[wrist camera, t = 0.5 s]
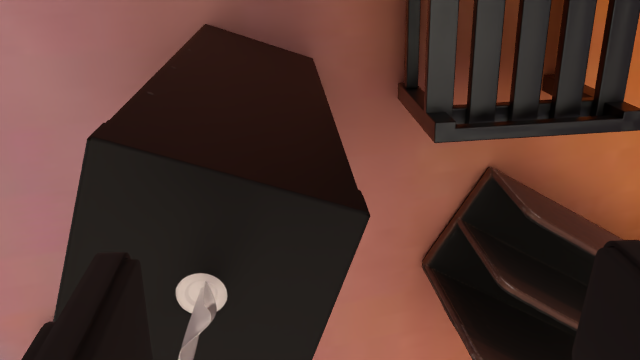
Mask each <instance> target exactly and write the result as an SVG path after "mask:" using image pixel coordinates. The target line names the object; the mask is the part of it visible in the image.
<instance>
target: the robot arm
mask: <svg viewBox="0 0 640 360" xmlns="http://www.w3.org/2000/svg"><path fill="white" fill-rule="evenodd" d="M572 359H573V360H640V241H639V240H617V241H608V242H607V243H606V244H605V245H604V247H603V248H600V249H599V250H598V251H597V253H596V255H595V259H594V264H593V268H592V272H591V276H590V280H589V284H588V288H587V292H586V296H585V300H584V304H583V308H582V312H581V316H580V320H579V324H578V329H577V333H576V337H575V341H574V345H573V349H572ZM22 360H153V356H152V348H151V341H150V333H149V325H148V318H147V310H146V302H145V295H144V287H143V280H142V272H141V265H140V262H139V260H138V259H131V258H130V255H129V253H127V252H112V253H97V254H96V255H95V256H94V258H93V260H92V261H91V263H90V265H89V266H88V268H87V270H86V271H85V273H84V275H83V276H82V278H81V280H80V282H79V283H78V285H77V287H76V288H75V290H74V292H73V293H72V295H71V297H70V298H69V300H68V302H67V304H66V305H65V307H64V309H63V310H62V312H61V314H60V315H59V317H58V319H57V321H56V322H48V323H46V324H44V326H43V327H42V328H41V329H40V331H39V332H38V334H37V335H36V337H35V339H34V340H33V342H32V344H31V345H30V347H29V348H28V350H27V352H26V353H25V355H24V356H23V358H22Z"/></svg>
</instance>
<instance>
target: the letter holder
mask: <svg viewBox="0 0 640 360" xmlns="http://www.w3.org/2000/svg"><path fill="white" fill-rule="evenodd" d="M617 240H622V239H620V238H619V237H617V236H615V235H613V234H611V233H610V232H608V231H606V230H604V229H602V228H600V227H599V226H597V225H595V224H593V223H592V222H590V221H588V220H586V219H584V218H583V217H581V216H579V215H577V214H576V213H574V212H572V211H570V210H568V209H566V208H564V207H563V206H561V205H559V204H557V203H556V202H554V201H552V200H550V199H548V198H546V197H545V196H543V195H541V194H539V193H537V192H536V191H534V190H532V189H530V188H528V187H526V186H525V185H523V184H521V183H519V182H517V181H515V180H514V179H512V178H510V177H508V176H507V175H505V174H503V173H501V172H500V171H498V170H497V169H494V168H490V167H489V168H488V169H487V171H486V173H485V174H484V175H483V177H482V178H481V180H480V181H479V182H478V184H477V185H476V186H475V188H474V189H473V191H472V192H471V193H470V195H469V196H468V198H467V199H466V200H465V202H464V203H463V205H462V206H461V207H460V209H459V210H458V212H457V213H456V214H455V216H454V217H453V219H452V220H451V221H450V223H449V224H448V226H447V227H446V228H445V230H444V231H443V233H442V234H441V235H440V237H439V238H438V239H437V241H436V242H435V244H434V245H433V247H432V248H431V249H430V251H429V252H428V254H427V255H426V257H425V258H424V260H423V263H422V267H423V270H424V272H425V274H426V275H427V277H428V279H429V281H430V282H431V284H432V286H433V288H434V290H435V292H436V294H437V295H438V298H439V299H440V301H441V303H442V305H443V307H444V310H445V311H446V313H447V315H448V317H449V319H450V321H451V322H452V324H453V326H454V327H455V329H456V330H457V332H458V334H459V336H460V338H461V339H462V341H463V343H464V344H465V346H466V348H467V350H468V352H469V354H470V356H471V358H472V360H573V359H572V349H573V345H574V341H575V337H576V333H577V329H578V324H579V320H580V316H581V312H582V308H583V304H584V300H585V296H586V292H587V288H588V284H589V280H590V276H591V272H592V268H593V264H594V259H595V255H596V253H597V251H598V250H599V249H600V248H603V247H604V245H605V244H606V243H607V242H608V241H617Z"/></svg>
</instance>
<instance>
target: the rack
mask: <svg viewBox="0 0 640 360" xmlns="http://www.w3.org/2000/svg"><path fill="white" fill-rule="evenodd" d="M420 3H421V0H406V31H405V78H404V83H398V99H399V100H400V102H401V103H402V104H403V105H404V106H405V108H406V109H407V110H408V111H409V113H410V114H411V115H412V116H413V117H414V119H415V120H416V121H417V122H418V123H419V125H420V126H421V127H422V128H423V130H424V131H425V132H426V133H427V134H428V135H429V137H430V138H431V139H432V140H433V142H434V143H442V142H459V141H475V140H491V139H507V138H523V137H540V136H556V135H572V134H588V133H604V132H621V131H637V130H640V108H637V107H635V106H633V105H630V104H628V103H626V102H623V101H624V95H625V90H626V85H627V79H628V74H629V68H630V63H631V57H632V52H633V46H634V41H635V35H636V30H637V24H638V19H639V13H640V0H609V5H608V11H607V18H606V24H605V30H604V36H603V43H602V49H601V55H600V61H599V68H598V74H597V80H596V86H595V89H593V88H591V87H589V86H586V85H584V82H585V76H586V69H587V63H588V56H589V49H590V43H591V36H592V30H593V23H594V16H595V10H596V3H597V0H564V5H563V13H562V21H561V28H560V36H559V44H558V52H557V59H556V67H555V74H550V75H544V81H543V89H542V90H543V91H544V92H546V93H548V94H550V95H552V100H540V91H541V83H542V75H543V66H544V58H545V50H546V42H547V33H548V25H549V17H550V9H551V0H520V3H519V13H518V23H517V33H516V43H515V53H514V63H513V74H512V84H511V94H510V102H500V103H496V101H497V90H498V78H499V67H500V56H501V45H502V34H503V22H504V11H505V0H474V10H473V24H472V39H471V54H470V68H469V83H468V98H467V104H466V105H453V97H454V80H455V63H456V45H457V28H458V11H459V0H428V9H427V36H426V64H425V91H423V90H422V89H421V88H420V87H419V86H418V66H419V34H420Z"/></svg>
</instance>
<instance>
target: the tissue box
mask: <svg viewBox="0 0 640 360" xmlns="http://www.w3.org/2000/svg"><path fill="white" fill-rule="evenodd" d="M369 218H370V214H369V211H368V208H367V205H366V202H365V200H364V197H363V195H362V193H361V191H360V190H358V188H357V185H356V183H355V180H354V177H353V174H352V171H351V168H350V165H349V162H348V159H347V156H346V154H345V151H344V148H343V145H342V142H341V139H340V136H339V133H338V130H337V127H336V125H335V122H334V119H333V116H332V113H331V110H330V107H329V104H328V101H327V98H326V96H325V93H324V90H323V87H322V84H321V81H320V78H319V75H318V72H317V69H316V66H315V64H314V61H313V59H312V58H309V57H306V56H303V55H300V54H297V53H294V52H291V51H288V50H285V49H282V48H279V47H275V46H272V45H269V44H266V43H263V42H260V41H257V40H254V39H251V38H248V37H245V36H241V35H238V34H235V33H232V32H229V31H226V30H223V29H220V28H217V27H214V26H211V25H207V24H205V25H204V26H203V27H202V28H201V29H200V30H199V31H198V32H197V33H196V34H195V35H194V36H193V37H192V38H191V39H190V40H189V41H188V42H187V43H186V44H185V45H184V46H183V47H182V48H181V49H180V50H179V51H178V52H177V53H176V54H175V55H174V56H173V57H172V58H171V59H170V60H169V61H168V62H167V63H166V64H165V65H164V66H163V67H162V68H161V69H160V70H159V71H158V72H157V73H156V74H155V75H154V76H153V77H152V78H151V79H150V80H149V81H148V82H147V83H146V84H145V85H144V86H143V87H142V88H141V89H140V90H139V91H138V92H137V93H136V94H135V95H134V96H133V97H132V98H131V99H130V100H129V101H128V102H127V103H126V104H125V105H124V106H123V107H122V108H121V109H120V110H119V111H118V112H117V113H116V114H115V115H114V116H113V117H112V118H111V119H110V120H108V121H107V122H106V123H103V124H102V125H101V126H100V127H99V128H98V129H97V130H96V131H94V132H93V133H92V134H91V135H90V136H89V137H88V138H87V143H86V148H85V154H84V159H83V164H82V170H81V175H80V180H79V186H78V191H77V197H76V202H75V207H74V213H73V218H72V224H71V229H70V234H69V240H68V245H67V250H66V256H65V261H64V267H63V272H62V277H61V283H60V288H59V293H58V299H57V304H56V310H55V315H54V320H53V322H56V321H57V319H58V317H59V315H60V314H61V312H62V310H63V309H64V307H65V305H66V304H67V302H68V300H69V298H70V297H71V295H72V293H73V292H74V290H75V288H76V287H77V285H78V283H79V282H80V280H81V278H82V276H83V275H84V273H85V271H86V270H87V268H88V266H89V265H90V263H91V261H92V260H93V258H94V256H95V255H96V254H97V253H112V252H127V253H129V255H130V258H131V259H138V260H139V262H140V265H141V272H142V280H143V287H144V295H145V302H146V310H147V318H148V325H149V333H150V341H151V348H152V356H153V360H312V359H313V356H314V354H315V351H316V349H317V346H318V344H319V342H320V339H321V337H322V334H323V332H324V329H325V327H326V324H327V322H328V319H329V317H330V314H331V312H332V309H333V307H334V304H335V302H336V299H337V297H338V295H339V292H340V290H341V287H342V285H343V282H344V280H345V277H346V275H347V272H348V270H349V267H350V265H351V262H352V260H353V257H354V255H355V252H356V250H357V248H358V245H359V243H360V240H361V238H362V235H363V233H364V230H365V228H366V225H367V223H368V220H369Z"/></svg>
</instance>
